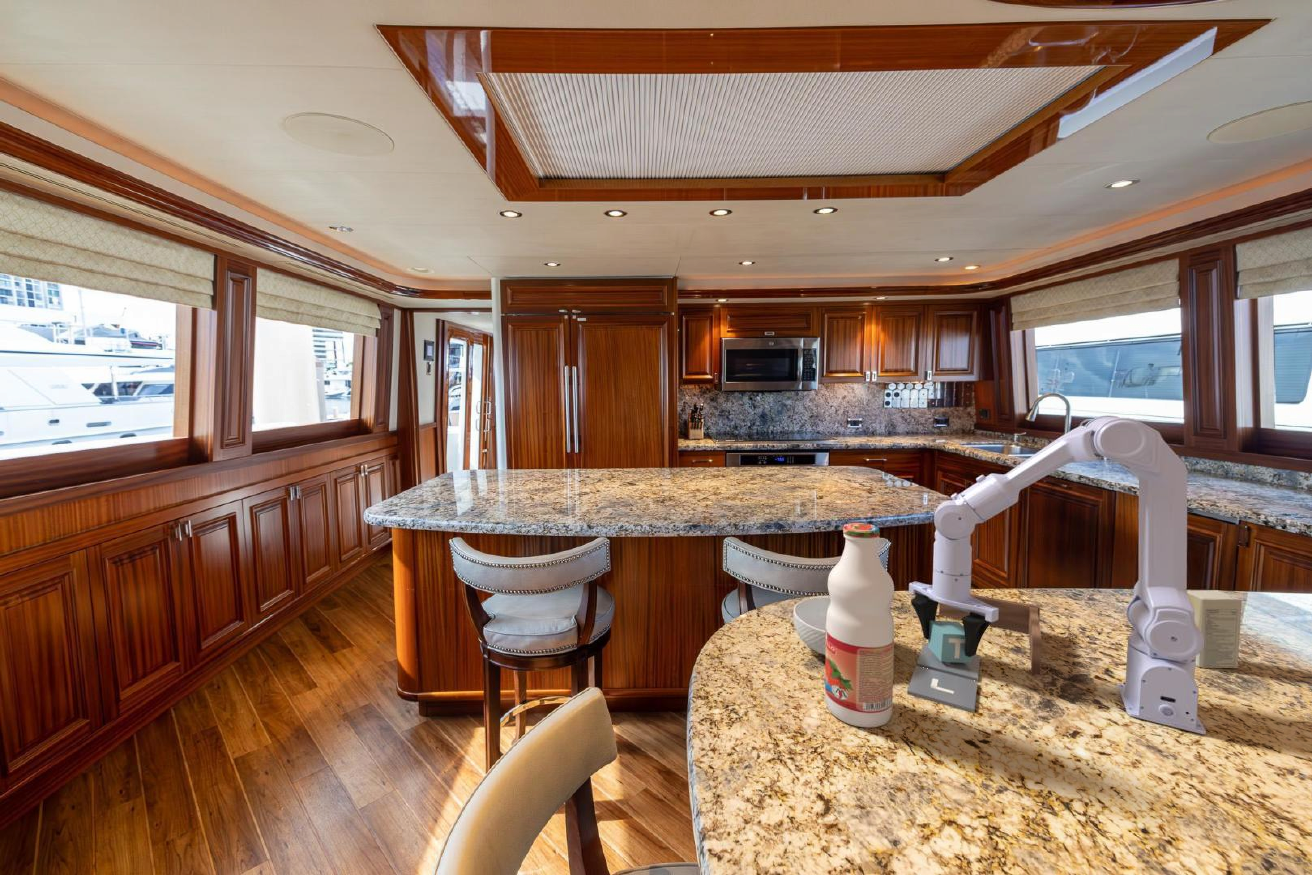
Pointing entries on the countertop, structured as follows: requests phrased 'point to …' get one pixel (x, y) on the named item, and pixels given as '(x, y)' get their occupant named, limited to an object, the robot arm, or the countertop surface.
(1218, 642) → the skincare box
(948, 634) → the light blue cube
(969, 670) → the tile
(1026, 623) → the walnut screen
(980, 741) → the countertop surface
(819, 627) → the cereal bowl
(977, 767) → the countertop surface
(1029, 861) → the countertop surface
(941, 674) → the tile
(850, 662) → the fruit juice
